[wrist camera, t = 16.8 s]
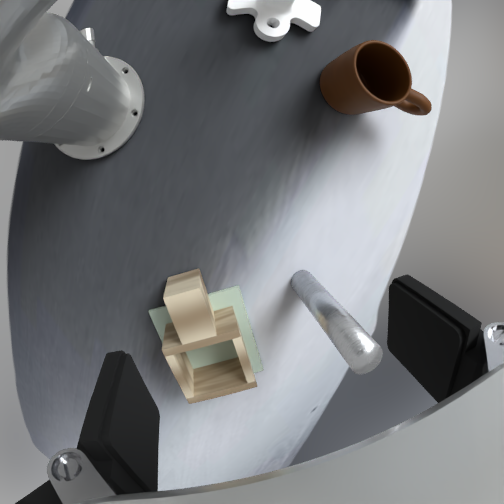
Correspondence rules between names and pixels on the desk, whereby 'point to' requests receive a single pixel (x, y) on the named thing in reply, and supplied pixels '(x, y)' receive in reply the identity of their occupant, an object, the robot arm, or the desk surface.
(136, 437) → the robot arm
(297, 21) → the joystick
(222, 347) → the mat
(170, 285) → the beige wooden open box
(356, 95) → the mug
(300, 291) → the post
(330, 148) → the desk surface
